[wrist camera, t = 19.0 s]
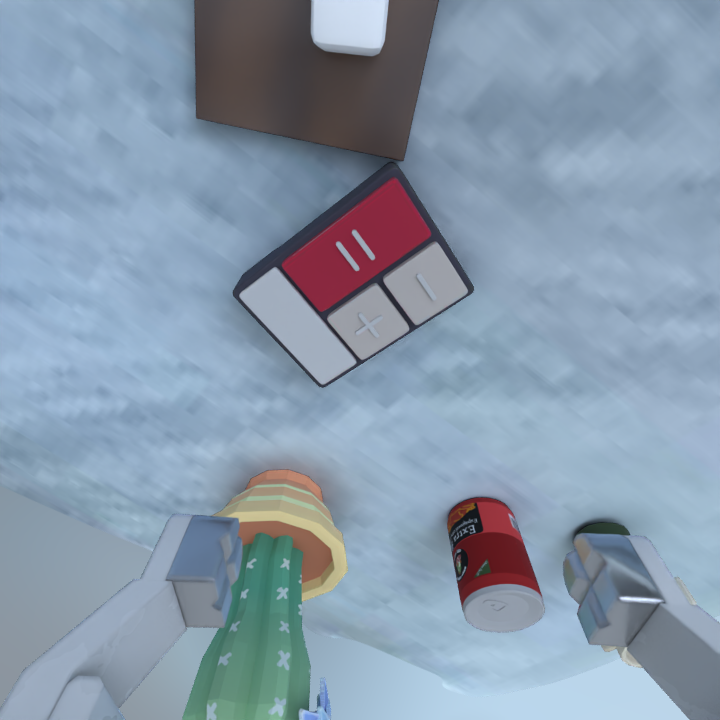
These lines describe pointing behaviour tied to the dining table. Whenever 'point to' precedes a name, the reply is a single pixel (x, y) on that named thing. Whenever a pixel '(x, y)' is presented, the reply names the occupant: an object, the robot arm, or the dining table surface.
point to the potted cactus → (271, 605)
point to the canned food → (493, 567)
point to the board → (309, 74)
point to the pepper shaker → (349, 25)
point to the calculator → (355, 279)
